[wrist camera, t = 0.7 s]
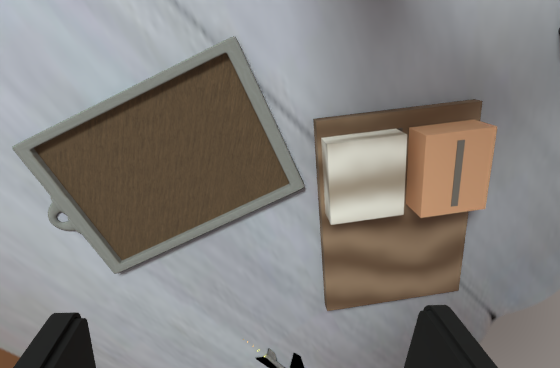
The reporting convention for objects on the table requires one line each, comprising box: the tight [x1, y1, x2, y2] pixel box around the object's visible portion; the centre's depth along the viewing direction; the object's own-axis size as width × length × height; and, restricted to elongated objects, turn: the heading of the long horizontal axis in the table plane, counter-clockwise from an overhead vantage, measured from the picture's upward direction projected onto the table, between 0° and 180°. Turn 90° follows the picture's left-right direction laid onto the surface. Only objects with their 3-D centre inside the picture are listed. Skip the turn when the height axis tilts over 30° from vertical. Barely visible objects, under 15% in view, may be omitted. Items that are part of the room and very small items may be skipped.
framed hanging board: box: [12, 36, 304, 274], centre depth 40 cm, size 19×2×30 cm
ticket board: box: [313, 99, 482, 311], centre depth 44 cm, size 28×20×4 cm
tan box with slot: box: [406, 119, 497, 218], centre depth 40 cm, size 10×8×4 cm
